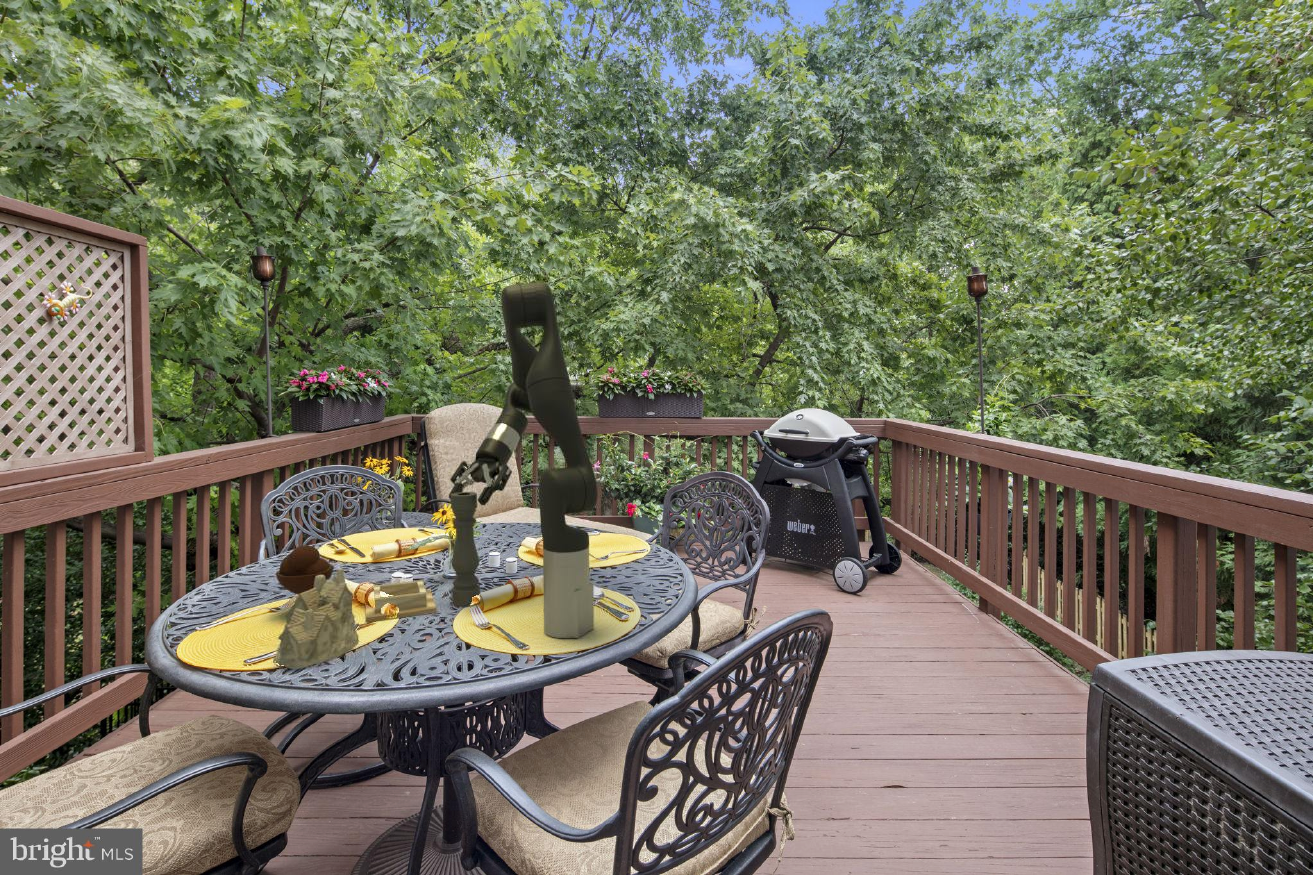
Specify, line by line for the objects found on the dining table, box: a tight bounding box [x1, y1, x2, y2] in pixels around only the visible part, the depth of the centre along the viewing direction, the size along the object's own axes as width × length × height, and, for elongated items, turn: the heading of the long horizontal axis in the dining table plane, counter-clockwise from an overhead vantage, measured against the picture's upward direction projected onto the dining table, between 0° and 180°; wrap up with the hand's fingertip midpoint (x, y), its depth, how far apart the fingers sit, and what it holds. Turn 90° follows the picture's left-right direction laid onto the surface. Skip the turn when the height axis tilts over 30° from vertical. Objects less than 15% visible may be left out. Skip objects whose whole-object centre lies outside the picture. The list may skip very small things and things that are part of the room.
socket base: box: [365, 579, 437, 623], centre depth 144 cm, size 14×14×4 cm
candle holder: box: [450, 491, 481, 608], centre depth 146 cm, size 6×6×25 cm
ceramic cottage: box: [273, 568, 360, 670], centre depth 121 cm, size 16×16×15 cm
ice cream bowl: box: [275, 544, 335, 595], centre depth 140 cm, size 11×11×15 cm
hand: (466, 501), depth 146 cm, fingers open, 8 cm apart
